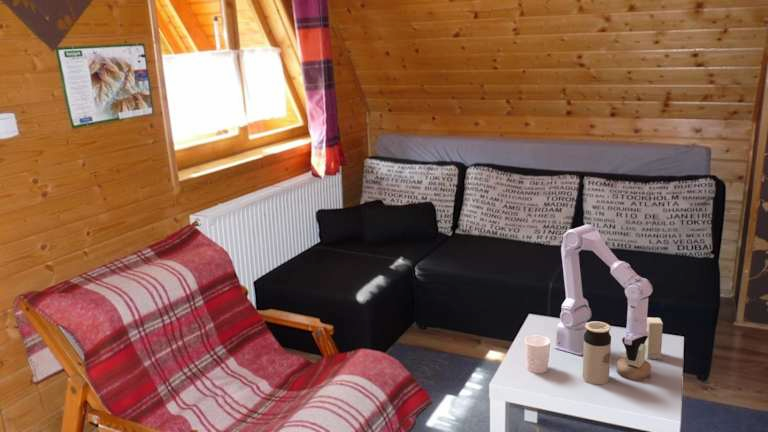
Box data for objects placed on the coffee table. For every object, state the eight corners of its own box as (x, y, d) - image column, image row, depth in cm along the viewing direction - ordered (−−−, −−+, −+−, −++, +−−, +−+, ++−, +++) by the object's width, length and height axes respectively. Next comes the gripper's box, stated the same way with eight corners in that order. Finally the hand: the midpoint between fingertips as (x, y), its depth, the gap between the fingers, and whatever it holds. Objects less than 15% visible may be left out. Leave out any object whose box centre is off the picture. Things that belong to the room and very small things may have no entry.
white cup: (552, 365, 211) (552, 337, 208) (545, 376, 204) (546, 348, 201) (528, 360, 214) (528, 333, 212) (521, 371, 208) (522, 343, 205)
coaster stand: (612, 374, 203) (612, 366, 202) (623, 362, 211) (624, 354, 210) (644, 384, 197) (644, 375, 196) (654, 370, 204) (655, 362, 204)
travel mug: (576, 376, 203) (578, 324, 199) (596, 370, 206) (598, 318, 202) (594, 387, 196) (597, 333, 192) (614, 381, 199) (617, 328, 195)
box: (661, 359, 211) (663, 323, 208) (646, 358, 212) (649, 323, 209) (657, 352, 216) (660, 317, 213) (643, 351, 217) (646, 316, 214)
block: (625, 363, 203) (626, 346, 201) (630, 357, 206) (631, 340, 204) (639, 367, 200) (640, 350, 198) (644, 361, 203) (645, 344, 201)
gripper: (642, 328, 191) (639, 369, 195) (657, 312, 202) (655, 351, 205) (618, 323, 195) (616, 363, 199) (635, 307, 206) (632, 345, 210)
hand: (634, 356), depth 202 cm, fingers closed on block, 4 cm apart
